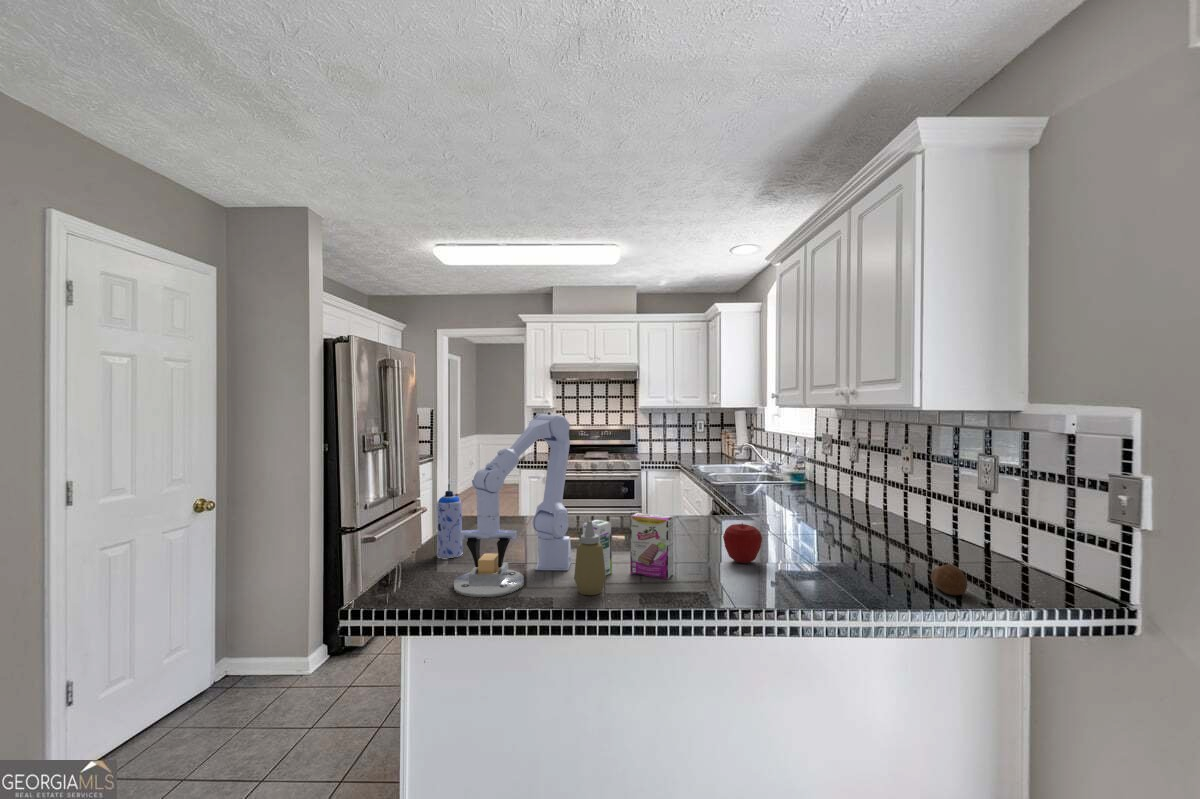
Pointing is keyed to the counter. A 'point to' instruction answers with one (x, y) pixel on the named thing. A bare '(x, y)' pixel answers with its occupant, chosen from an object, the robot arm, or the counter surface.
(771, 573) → the counter surface
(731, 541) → the apple
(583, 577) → the squeeze bottle
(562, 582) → the counter surface
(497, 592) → the gray round plate
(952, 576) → the potato
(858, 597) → the counter surface
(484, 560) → the tan rectangular block
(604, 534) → the syrup box
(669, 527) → the candy bar box
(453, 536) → the aerosol can
